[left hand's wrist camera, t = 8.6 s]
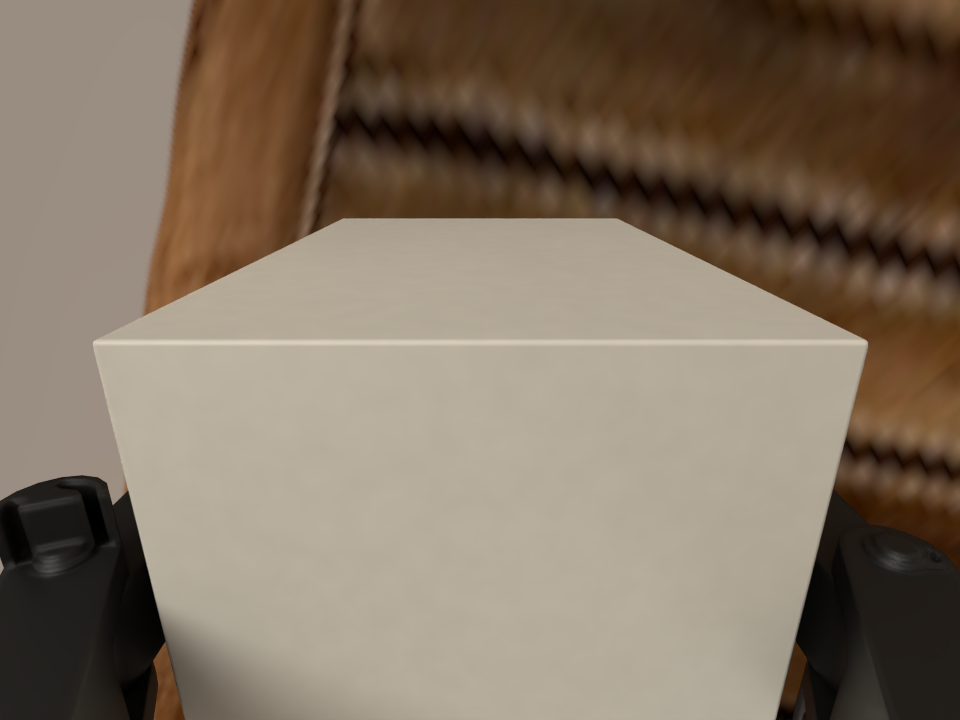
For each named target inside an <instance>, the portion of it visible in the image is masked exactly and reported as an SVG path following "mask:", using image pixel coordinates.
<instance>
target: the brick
mask: <svg viewBox="0 0 960 720" xmlns="http://www.w3.org/2000/svg"><path fill="white" fill-rule="evenodd" d="M93 349H94V353H95V357H96V361H97V365H98V369H99V373H100V377H101V381H102V385H103V389H104V393H105V397H106V401H107V405H108V409H109V414H110V418H111V422H112V426H113V430H114V434H115V438H116V442H117V446H118V450H119V454H120V458H121V462H122V466H123V470H124V474H125V478H126V482H127V486H128V491H129V495H130V499H131V503H132V507H133V511H134V515H135V519H136V523H137V527H138V531H139V535H140V539H141V543H142V547H143V551H144V555H145V559H146V563H147V567H148V571H149V576H150V580H151V584H152V588H153V592H154V596H155V600H156V604H157V608H158V612H159V616H160V620H161V624H162V628H163V632H164V636H165V640H166V644H167V648H168V652H169V656H170V661H171V665H172V669H173V673H174V677H175V681H176V685H177V689H178V693H179V697H180V701H181V705H182V709H183V713H184V717H185V720H776V717H777V712H778V708H779V704H780V700H781V696H782V692H783V688H784V684H785V680H786V676H787V672H788V668H789V664H790V660H791V656H792V652H793V648H794V644H795V640H796V636H797V632H798V628H799V624H800V620H801V616H802V612H803V608H804V603H805V599H806V595H807V591H808V587H809V583H810V579H811V575H812V571H813V567H814V563H815V559H816V555H817V551H818V547H819V543H820V539H821V535H822V531H823V527H824V523H825V519H826V515H827V511H828V507H829V503H830V499H831V494H832V490H833V486H834V482H835V478H836V474H837V470H838V466H839V462H840V458H841V454H842V450H843V446H844V442H845V438H846V434H847V430H848V426H849V422H850V418H851V414H852V410H853V406H854V402H855V398H856V394H857V390H858V386H859V381H860V377H861V373H862V369H863V365H864V361H865V357H866V353H867V349H868V342H867V340H865V339H863V338H860V337H858V336H856V335H854V334H852V333H850V332H848V331H846V330H844V329H842V328H840V327H838V326H836V325H834V324H832V323H830V322H828V321H826V320H824V319H822V318H819V317H817V316H815V315H813V314H811V313H809V312H807V311H805V310H803V309H801V308H799V307H797V306H795V305H793V304H791V303H789V302H787V301H785V300H783V299H781V298H779V297H776V296H774V295H772V294H770V293H768V292H766V291H764V290H762V289H760V288H758V287H756V286H754V285H752V284H750V283H748V282H746V281H744V280H742V279H740V278H738V277H736V276H733V275H731V274H729V273H727V272H725V271H723V270H721V269H719V268H717V267H715V266H713V265H711V264H709V263H707V262H705V261H703V260H701V259H699V258H697V257H695V256H693V255H690V254H688V253H686V252H684V251H682V250H680V249H678V248H676V247H674V246H672V245H670V244H668V243H666V242H664V241H662V240H660V239H658V238H656V237H654V236H652V235H650V234H647V233H645V232H643V231H641V230H639V229H637V228H635V227H633V226H631V225H629V224H627V223H625V222H623V221H621V220H619V219H342V220H340V221H337V222H335V223H333V224H331V225H329V226H327V227H325V228H323V229H321V230H319V231H317V232H315V233H313V234H311V235H309V236H307V237H305V238H303V239H301V240H299V241H297V242H295V243H293V244H291V245H288V246H286V247H284V248H282V249H280V250H278V251H276V252H274V253H272V254H270V255H268V256H266V257H264V258H262V259H260V260H258V261H256V262H254V263H252V264H250V265H248V266H246V267H244V268H242V269H239V270H237V271H235V272H233V273H231V274H229V275H227V276H225V277H223V278H221V279H219V280H217V281H215V282H213V283H211V284H209V285H207V286H205V287H203V288H201V289H199V290H197V291H195V292H193V293H190V294H188V295H186V296H184V297H182V298H180V299H178V300H176V301H174V302H172V303H170V304H168V305H166V306H164V307H162V308H160V309H158V310H156V311H154V312H152V313H150V314H148V315H146V316H144V317H141V318H139V319H137V320H135V321H133V322H131V323H129V324H127V325H125V326H123V327H121V328H119V329H117V330H115V331H113V332H111V333H109V334H107V335H105V336H103V337H101V338H99V339H97V340H95V341H94V342H93Z"/></svg>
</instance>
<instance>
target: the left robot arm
mask: <svg viewBox="0 0 960 720" xmlns="http://www.w3.org/2000/svg"><path fill="white" fill-rule="evenodd" d="M0 558H1V561H2V564H3V567H4V569H3V571H2V573H1V575H0V720H153V719H154V712H155V705H156V697H157V690H158V681H157V674H156V670H155V666H154V662H153V660H154V658H155V657H156V655H157V654H158V652H159V651H160V649H161V647H162V646H163V644H164V643H165V641H166V640H165V636H164V632H163V628H162V624H161V620H160V616H159V612H158V608H157V604H156V600H155V596H154V592H153V588H152V584H151V580H150V576H149V571H148V567H147V563H146V559H145V555H144V551H143V547H142V543H141V539H140V535H139V531H138V527H137V523H136V519H135V515H134V511H133V507H132V503H131V499H130V495H129V491H127V492H126V493H125V494H124V495H123V496H122V497H121V498H120V499H119V500H118V501H117V502H116V503H115V504H114V505H112V501H111V497H110V494H109V490H108V486H107V483H106V482H104V481H103V480H101V479H100V478H98V477H91V476H83V475H81V476H70V477H61V478H57V479H53V480H48V481H44V482H40V483H37V484H35V485H32V486H29V487H27V488H24V489H22V490H19V491H17V492H15V493H13V494H11V495H10V496H8V497H6V498H4V499H3V500H1V501H0ZM796 642H797V643H798V645H799V647H800V648H801V650H802V651H803V653H804V654H805V656H806V657H807V662H806V666H805V670H804V674H803V677H802V681H801V685H800V689H799V693H798V697H797V700H796V704H795V708H794V713H793V715H792V716H790V717H789V718H788V719H786V720H960V573H959V572H958V570H957V568H956V567H955V565H954V564H953V563H952V562H951V561H950V560H949V558H948V557H947V556H946V555H945V554H944V553H942V552H941V551H939V550H938V549H936V548H935V547H933V546H932V545H930V544H929V543H928V542H926V541H923V540H921V539H919V538H917V537H915V536H912V535H910V534H908V533H906V532H902V531H899V530H895V529H892V528H888V527H885V526H876V525H869V524H868V523H867V522H866V521H865V520H864V519H863V518H862V517H861V516H860V515H859V514H858V513H857V512H856V511H855V510H854V509H853V508H852V507H851V506H850V505H849V504H848V503H847V502H845V501H844V500H843V499H842V498H841V497H840V496H839V495H838V494H837V493H836V492H835V491H834V490H832V494H831V499H830V503H829V507H828V511H827V515H826V519H825V523H824V527H823V531H822V535H821V539H820V543H819V547H818V551H817V555H816V559H815V563H814V567H813V571H812V575H811V579H810V583H809V587H808V591H807V595H806V599H805V603H804V608H803V612H802V616H801V620H800V624H799V628H798V632H797V636H796Z"/></svg>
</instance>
